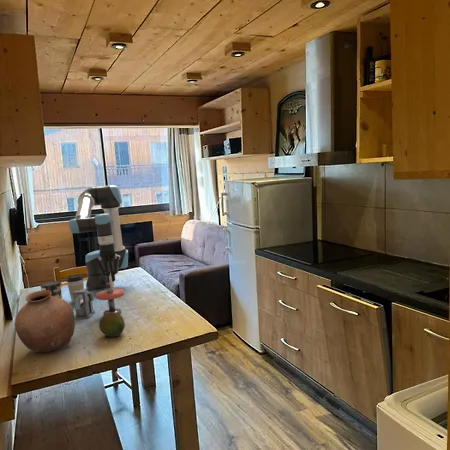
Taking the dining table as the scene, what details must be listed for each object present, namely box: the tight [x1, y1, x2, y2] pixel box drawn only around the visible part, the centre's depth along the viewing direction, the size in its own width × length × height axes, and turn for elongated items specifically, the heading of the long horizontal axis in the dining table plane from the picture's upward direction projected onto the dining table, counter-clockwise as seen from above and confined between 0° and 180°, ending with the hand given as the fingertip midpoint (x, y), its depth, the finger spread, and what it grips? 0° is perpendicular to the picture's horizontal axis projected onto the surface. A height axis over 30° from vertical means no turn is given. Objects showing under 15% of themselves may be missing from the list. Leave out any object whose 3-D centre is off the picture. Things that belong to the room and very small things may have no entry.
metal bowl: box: [103, 299, 122, 316], centre depth 211 cm, size 9×9×9 cm
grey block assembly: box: [73, 289, 95, 320], centre depth 212 cm, size 12×9×13 cm
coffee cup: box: [66, 274, 85, 303], centre depth 237 cm, size 9×9×15 cm
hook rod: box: [75, 290, 94, 309], centre depth 213 cm, size 18×3×7 cm, turn 0°
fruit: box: [98, 312, 126, 338], centre depth 182 cm, size 12×13×10 cm
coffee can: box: [39, 280, 63, 299], centre depth 228 cm, size 10×10×14 cm
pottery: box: [14, 290, 76, 353], centre depth 171 cm, size 23×23×25 cm
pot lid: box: [95, 283, 125, 301], centre depth 210 cm, size 14×14×5 cm
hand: (112, 287), depth 215 cm, fingers closed
